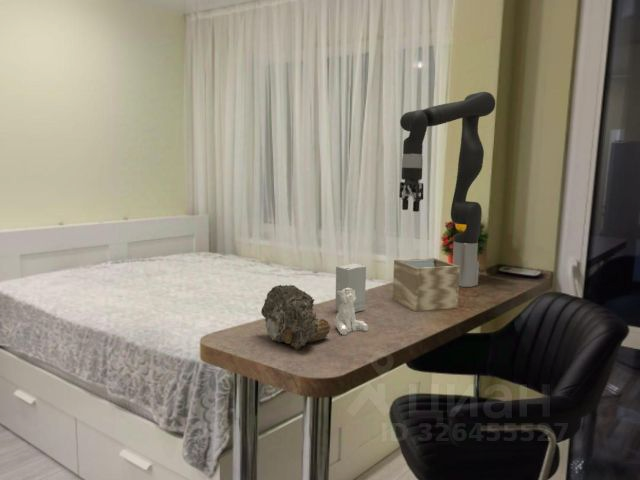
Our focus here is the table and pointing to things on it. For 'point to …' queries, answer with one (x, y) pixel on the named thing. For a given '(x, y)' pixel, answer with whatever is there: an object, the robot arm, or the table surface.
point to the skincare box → (351, 283)
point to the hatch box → (426, 285)
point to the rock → (292, 317)
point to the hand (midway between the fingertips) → (410, 210)
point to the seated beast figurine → (348, 313)
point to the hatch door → (420, 263)
